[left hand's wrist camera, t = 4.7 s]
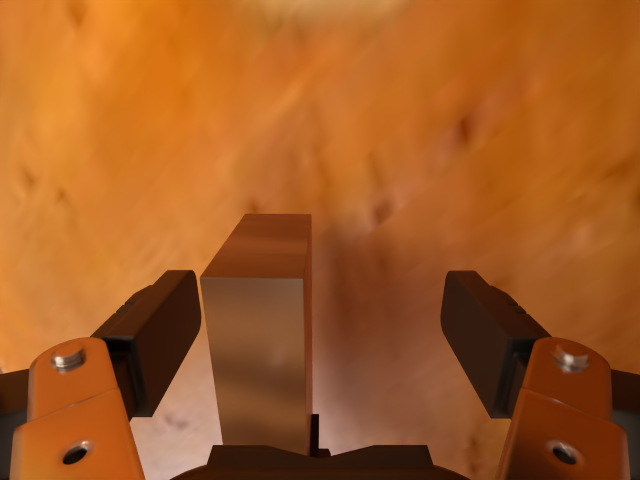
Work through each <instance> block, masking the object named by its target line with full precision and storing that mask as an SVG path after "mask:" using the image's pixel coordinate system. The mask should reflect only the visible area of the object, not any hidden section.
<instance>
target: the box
mask: <svg viewBox="0 0 640 480" xmlns="http://www.w3.org/2000/svg"><path fill="white" fill-rule="evenodd" d="M200 284H201V291H202V298H203V305H204V312H205V319H206V327H207V334H208V341H209V348H210V355H211V362H212V369H213V377H214V384H215V391H216V398H217V405H218V412H219V420H220V427H221V434H222V441H223V445H267V446H271V447H275V448H279V449H283V450H287V451H291V452H295V453H299V454H303V455H307V456H310V447H311V421H312V414H313V406H312V240H311V214H245V215H244V216H243V218H242V219H241V220H240V222H239V223H238V225H237V226H236V227H235V229H234V230H233V232H232V233H231V234H230V236H229V237H228V239H227V240H226V241H225V243H224V244H223V246H222V247H221V248H220V250H219V251H218V253H217V254H216V255H215V257H214V258H213V260H212V261H211V262H210V264H209V265H208V267H207V268H206V269H205V271H204V272H203V274H202V275H201V276H200Z"/></svg>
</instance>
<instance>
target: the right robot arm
mask: <svg viewBox="0 0 640 480" xmlns="http://www.w3.org/2000/svg"><path fill="white" fill-rule="evenodd" d="M310 456H311V457H315V458H325V457H329V456H331V453H330V451H329V449H319V414H312V421H311V447H310Z"/></svg>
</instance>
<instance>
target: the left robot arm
mask: <svg viewBox="0 0 640 480" xmlns="http://www.w3.org/2000/svg"><path fill="white" fill-rule="evenodd" d="M200 326H201V309H200V302H199V294H198V287H197V280H196V275H195V273H194V271H193V270H167V271H166V272H165V273H164V274H163V275H162V276H161V277H160V278H159V279H158V280H157V281H156V282H155V283H154V284H153V285H149V286H147V287H146V288H144V289H142V290H140V291H138V292H136V293H135V294H133V295H132V296H131V297H130V298H129V299H128V300H127V301H126V302H125V305H122V306H121V307H120V308H119V309H118V310H117V311H116V313H114V314H113V315H112V316H111V317H110V318H109V319H108V320H107V321H106V322H105V323H104V324H103V325H102V326H100V327H99V328H98V329H97V330H96V331H95V332H94V333H93V334H92V335H91V336H90V337H84V338H78V339H73V340H69V341H66V342H63V343H61V344H58V345H56V346H54V347H52V348H50V349H48V350H46V351H45V352H43V353H42V354H41V355H39V356H38V357H37V358H36V359H35V360H34V361H33V362H32V364H31V366H30V369H25V370H20V371H15V372H10V373H5V374H0V480H145V476H144V473H143V469H142V466H141V462H140V459H139V455H138V452H137V448H136V445H135V441H134V438H133V434H132V431H131V427H130V424H129V422H130V421H131V419H132V417H152V416H153V414H154V412H155V410H156V409H157V407H158V405H159V403H160V401H161V400H162V398H163V396H164V394H165V392H166V391H167V389H168V387H169V385H170V383H171V382H172V380H173V378H174V376H175V374H176V373H177V371H178V369H179V367H180V365H181V364H182V362H183V360H184V358H185V356H186V354H187V353H188V351H189V349H190V347H191V345H192V344H193V342H194V340H195V338H196V336H197V335H198V333H199V330H200ZM441 327H442V331H443V334H444V336H445V337H446V339H447V341H448V343H449V344H450V346H451V348H452V350H453V352H454V353H455V355H456V357H457V359H458V360H459V362H460V364H461V366H462V368H463V369H464V371H465V373H466V375H467V377H468V378H469V380H470V382H471V384H472V385H473V387H474V389H475V391H476V393H477V394H478V396H479V398H480V400H481V401H482V403H483V405H484V407H485V409H486V410H487V412H488V414H489V416H490V418H510V419H511V424H510V427H509V431H508V434H507V438H506V441H505V445H504V448H503V452H502V455H501V459H500V462H499V466H498V469H497V473H496V476H495V480H640V375H638V374H633V373H628V372H623V371H617V370H612V369H610V366H609V364H608V362H607V361H606V360H605V359H604V358H603V357H602V356H601V355H599V354H598V353H597V352H595V351H594V350H592V349H590V348H588V347H586V346H584V345H582V344H579V343H577V342H574V341H571V340H567V339H562V338H556V337H552V336H551V335H550V334H549V333H548V332H547V331H546V330H545V329H544V328H543V327H542V326H540V325H539V324H538V323H537V322H536V321H535V320H534V319H533V318H532V317H531V316H530V315H529V314H526V311H525V310H524V309H523V308H522V307H521V306H518V303H517V302H515V301H514V300H513V299H512V298H511V297H510V296H509V295H508V294H507V293H505V292H503V291H501V290H499V289H497V288H496V287H494V286H489V285H488V284H487V283H486V281H485V280H484V279H483V278H482V277H481V276H480V275H479V274H478V273H477V272H475V271H449V272H448V273H447V275H446V280H445V287H444V294H443V301H442V308H441ZM170 480H470V479H468V478H467V477H465V476H462V475H460V474H458V473H456V472H454V471H451V470H449V469H446V468H443V467H440V466H437V465H433V462H432V459H431V456H430V453H429V450H428V447H427V445H373V446H369V447H365V448H361V449H357V450H353V451H349V452H345V453H341V454H337V455H333V456H329V457H325V458H315V457H311V456H307V455H303V454H299V453H295V452H291V451H287V450H283V449H279V448H275V447H271V446H267V445H213V447H212V450H211V453H210V456H209V459H208V462H207V465H203V466H200V467H197V468H194V469H191V470H189V471H186V472H184V473H182V474H180V475H178V476H175V477H173V478H172V479H170Z"/></svg>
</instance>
